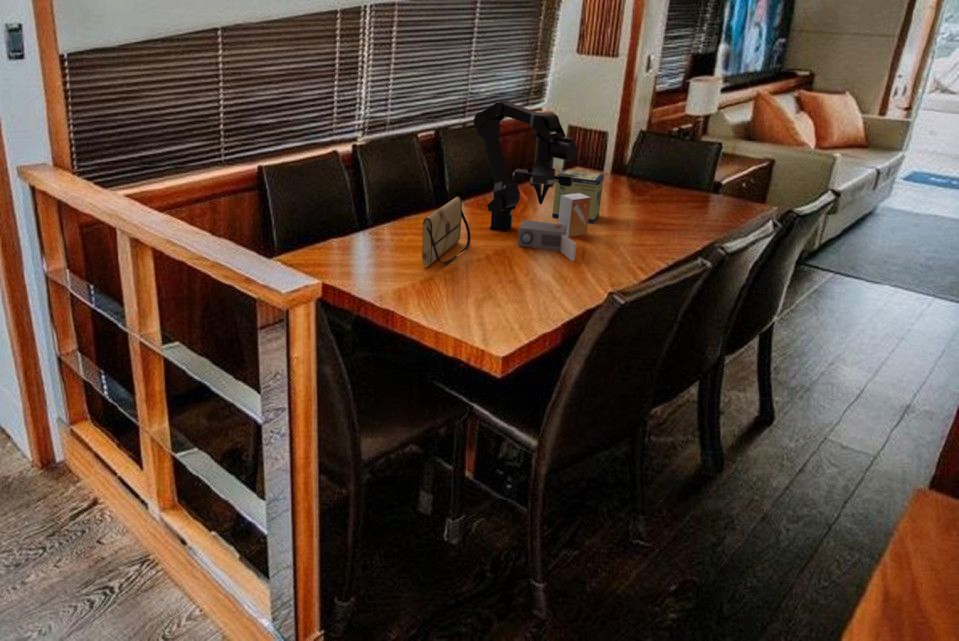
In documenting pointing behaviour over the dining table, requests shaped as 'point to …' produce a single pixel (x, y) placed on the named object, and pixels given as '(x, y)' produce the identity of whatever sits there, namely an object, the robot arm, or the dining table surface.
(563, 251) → the side door
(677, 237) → the dining table surface
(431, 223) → the clutch purse
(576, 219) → the small box
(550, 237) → the camera block
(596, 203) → the protein box
